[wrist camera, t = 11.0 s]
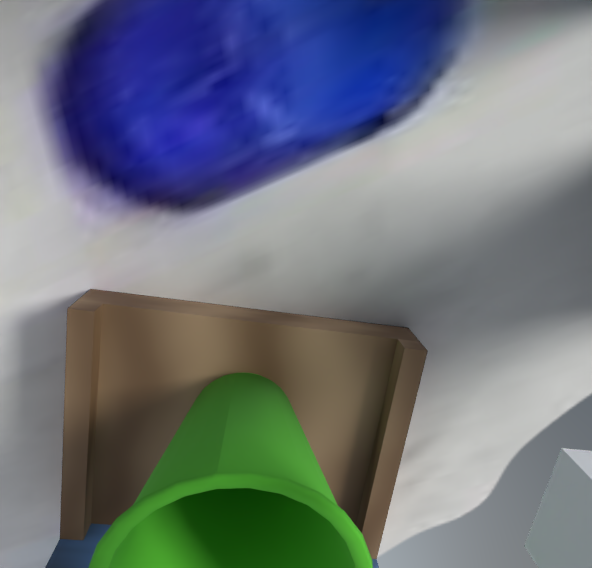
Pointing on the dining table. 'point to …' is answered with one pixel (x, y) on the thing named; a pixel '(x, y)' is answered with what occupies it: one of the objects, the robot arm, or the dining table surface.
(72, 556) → the wooden display stand
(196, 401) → the cup
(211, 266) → the dining table surface
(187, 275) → the dining table surface
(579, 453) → the robot arm
